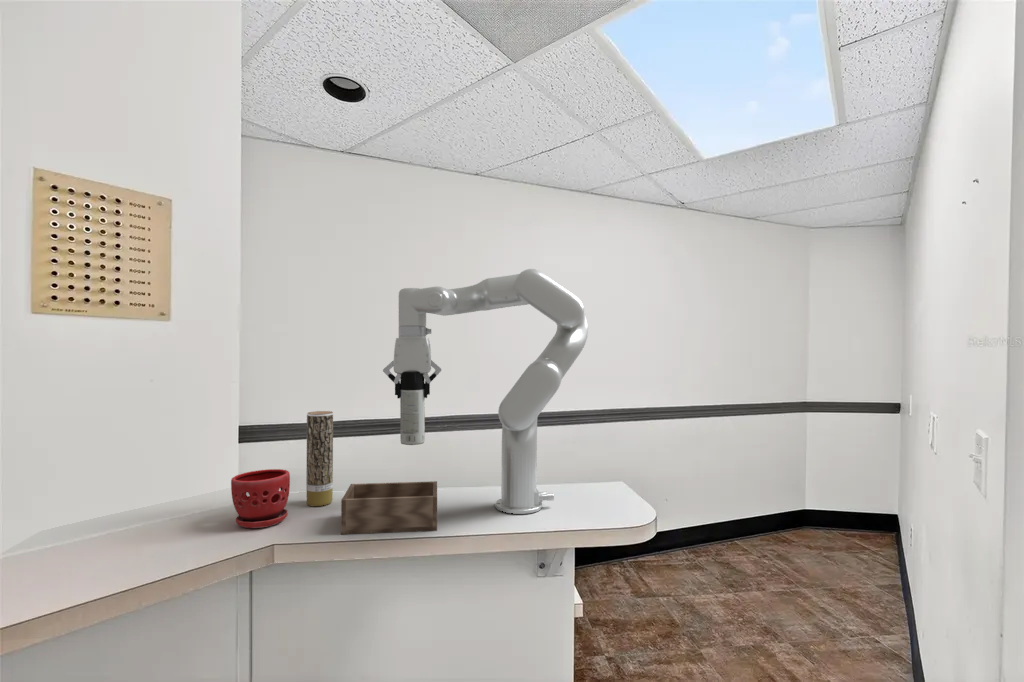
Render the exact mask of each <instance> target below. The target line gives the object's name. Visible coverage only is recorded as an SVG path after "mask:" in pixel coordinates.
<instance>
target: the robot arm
mask: <svg viewBox="0 0 1024 682" xmlns="http://www.w3.org/2000/svg"><path fill="white" fill-rule="evenodd" d="M526 305H530V306H532V307H533V308H534V309H536V310H537V311H539V313H541V314H542V315H544V316H546V317H547V318H548V319H550V320H551V321H552V322H555V324H556V325H557V326H556V327H557V328H556V332H555V334H554V335H553V337H552V338H551V340H550V341H549V342H548V343H547V345H546V347H545V348H544V349H543V351H542V352H541V353H540V355H539V356H538V357H537V358H536V359H535V360H534V361H532V363H530V364H529V365H528V366H527V368H525V370H524V371H523V373H522V374H521V375H520V377H519V378H518V379H517V381H516V382H515V383H514V384H513V386H512V388H511V389H510V390H509V391H508V393H507V394H506V395H505V396H504V398H503V399H502V401H501V402H500V404H499V407H498V411H497V412H498V413H497V414H498V419H499V421H500V423H501V425H502V426H501V427H502V428H501V430H502V431H501V484H500V485H501V496H500V497H501V498H499V499H497V500H496V501H495V508H496V509H497V511H500V512H502V511H503V512H502V513H505V512H506V513H507V514H511V513H513V514H512V515H526V514H533V513H536V512H538V511H540V510H542V508H543V503H542V502H543V501H554V500H555V494H554V492H553V493H552V492H550V493H549V492H548V491H539V490H538V489H537V470H538V468H537V464H538V463H537V458H538V457H537V456H538V455H537V453H538V452H537V450H538V418H539V417H538V416H539V415H540V414H541V413H542V411H543V410H544V409H545V408H546V406H547V405H548V404H549V402H550V401H551V400H552V398H553V397H554V396H555V395H556V393H557V391H558V390H559V389H560V386H561V382H562V379H563V378H564V377H565V375H566V374H567V373H568V372H569V370H570V368H571V367H572V366H573V364H574V363H575V361H576V360H577V358H578V357H579V355H580V354H581V352H582V351H583V349H584V348H585V345H586V343H587V339H588V336H589V335H588V334H589V325H588V320H587V316H586V313H585V307H584V304H583V302H582V301H581V299H580V298H579V297H578V296H576V295H575V294H574V293H572V291H571V292H570V291H569V290H568V289H566V288H565V287H563V286H562V285H561V284H558V283H557V282H556V281H555V280H553V279H552V278H551V277H549V276H547V274H545V273H544V272H542V271H541V270H539V269H536V268H528V269H525V270H522V271H521V272H520V273H517V274H509V275H503V276H495V277H494V276H493V277H488V278H485V279H482V280H481V281H480V282H477V283H475V284H473V285H469V286H463V287H458V288H449V289H448V288H445V287H443V286H442V287H441V286H430V287H424V288H420V287H419V288H418V287H406V288H405V287H403V288H401V289H399V292H398V337H396V338H395V342H394V350H393V360H392V361H391V362H389V364H388V365H386V366H385V367H384V368H383V369H382V372H383V373H384V374H385V375H386V376H387V377H388V378H389V379H390V380H391V382H393V384H394V395H395V396H396V397H397V399H400V378H401V374H402V373H403V372H420V373H421V374H423V376H424V398H425V399H427V398H428V396H429V395H430V394H431V389H430V388H431V387H430V386H431V382H433V381H434V379H435V378H436V377H437V376H438V375H439V374H440V373H441V372H442V368H441V367H440V366H439V365H438V364H437V363H436V362H435V361H433V360H432V355H431V354H432V352H431V351H432V350H431V344H430V338H429V337H427V335H430V334H431V335H432V328H429V327H427V314H432V315H439V316H443V317H444V316H445V317H446V316H455V315H461V314H467V313H468V314H469V313H474V312H475V313H476V312H480V311H481V312H482V311H490V310H496V309H503V308H511V307H517V306H518V307H520V306H526ZM392 368H393V372H394V373H395V374H396V375H394V374H393V372H391V369H392ZM432 368H433V369H434V371H433V372H432V374H431V375H429V374H428V373H430V372H431V371H432Z"/></svg>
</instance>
